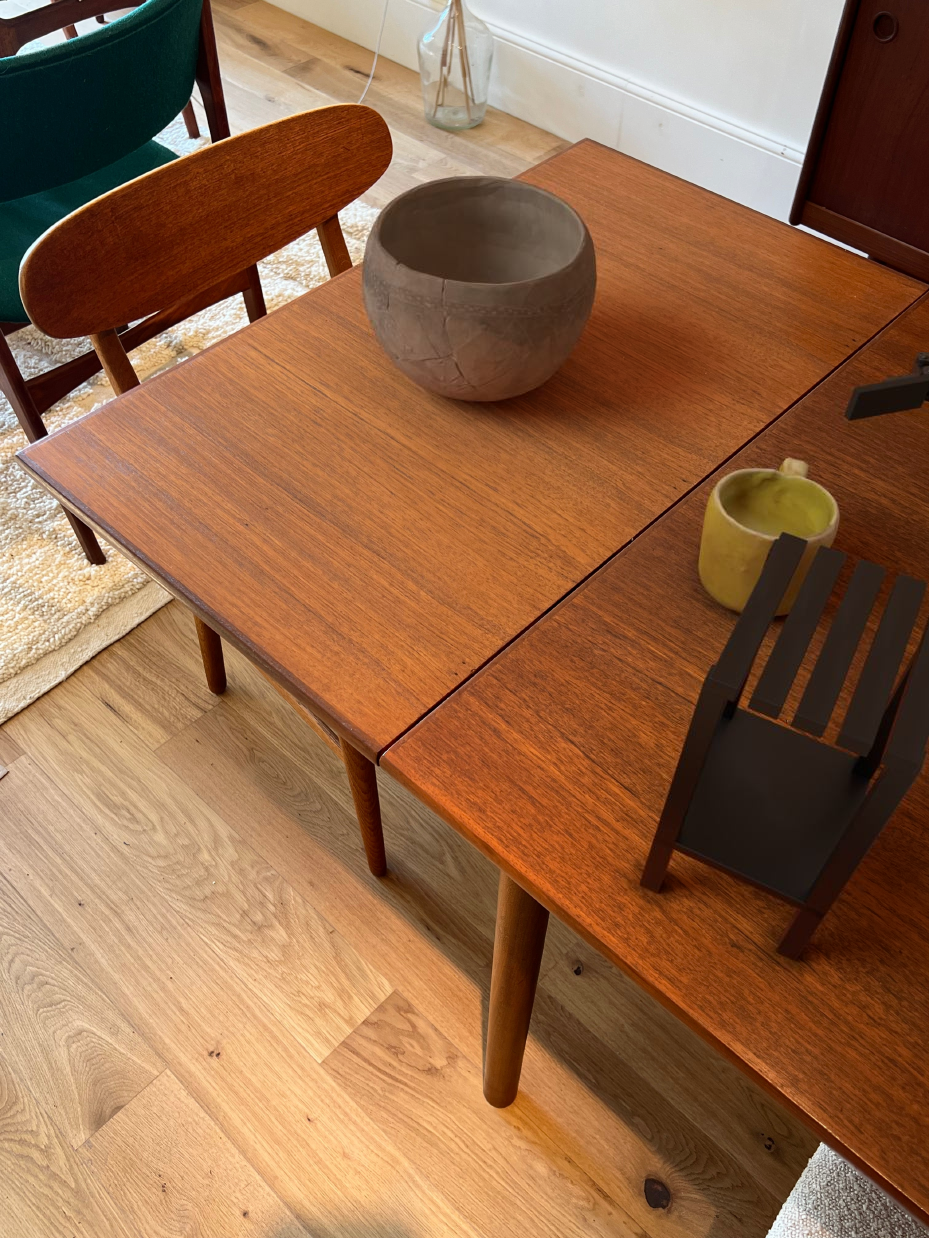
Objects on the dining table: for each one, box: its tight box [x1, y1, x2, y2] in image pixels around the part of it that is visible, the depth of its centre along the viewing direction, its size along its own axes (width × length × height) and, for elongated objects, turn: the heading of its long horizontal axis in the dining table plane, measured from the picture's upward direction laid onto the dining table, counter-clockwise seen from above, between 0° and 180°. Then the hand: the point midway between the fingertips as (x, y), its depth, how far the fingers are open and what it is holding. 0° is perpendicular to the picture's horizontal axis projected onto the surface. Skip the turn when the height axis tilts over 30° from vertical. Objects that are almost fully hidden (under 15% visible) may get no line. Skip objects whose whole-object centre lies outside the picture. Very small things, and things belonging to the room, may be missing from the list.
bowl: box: [361, 175, 598, 402], centre depth 90 cm, size 21×21×15 cm
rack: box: [638, 532, 929, 962], centre depth 55 cm, size 10×11×21 cm
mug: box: [698, 457, 841, 617], centre depth 76 cm, size 12×10×10 cm
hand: (898, 458), depth 74 cm, fingers open, 13 cm apart
